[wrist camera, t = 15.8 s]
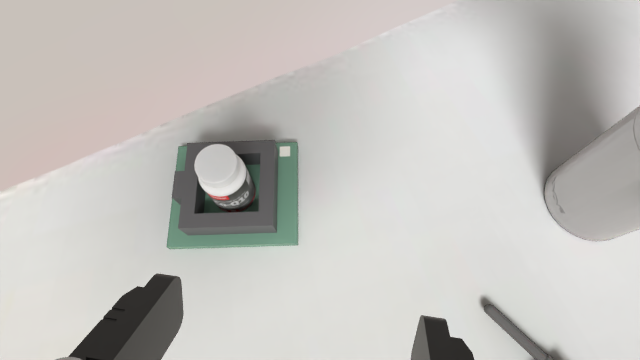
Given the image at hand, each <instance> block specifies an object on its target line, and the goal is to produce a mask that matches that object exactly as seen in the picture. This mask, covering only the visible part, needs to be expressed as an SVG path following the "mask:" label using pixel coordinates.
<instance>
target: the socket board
mask: <svg viewBox="0 0 640 360" xmlns="http://www.w3.org/2000/svg"><path fill="white" fill-rule="evenodd" d="M213 144H223V145H226V146H228V147H230V148H231V149H232V150H233V151H234V152H235V154H236V155H237V156H239V157H240V158H241V159H242V161H243V162H244V164H245V166H246V168H247V170H248V172H249V174H250V176H251V178H252V180H253V182H254V185H255V188H256V194H255V199H254V201H253V203H252V204H251V205H250V206H249V207H248V208H247V209H246V210H244V211H242V212H230V213H228V212H225V211H223V210H221V209H220V208H219V207H218V206H217V205H216V204H215V203H214V201H213V200H212V199H211V198H210V197H209V195H208V194H207V193H206V192H205V191H204V190H203V188H202V187H201V185H200V183H199V180H198V176H197V174H196V172H195V167H194V164H195V159H196V157H197V155H198V154H199V152H200V151H201V150H203V149H204V148H205V147H207V146H209V145H213ZM289 245H298V145H297V142H288V143H275V140H264V141H236V142H208V143H187V146H179V148H178V156H177V164H176V171H175V176H174V184H173V193H172V206H171V214H170V222H169V231H168V239H167V248H169V249H190V248H223V247H256V246H289Z"/></svg>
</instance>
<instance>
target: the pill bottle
mask: <svg viewBox="0 0 640 360" xmlns="http://www.w3.org/2000/svg"><path fill="white" fill-rule="evenodd" d="M194 167H195V172H196V174H197V176H198V180H199V183H200V185H201V187H202V188H203V190H204V191H205V192H206V193H207V194H208V195H209V197H210V198H211V199H212V200H213V201H214V203H215V204H216V205H217V206H218V207H219V208H220V209H221V210H223V211H225V212H228V213H230V212H242V211H244V210H246V209H247V208H248V207H249V206H250V205H251V204H252V203H253V201H254V199H255V194H256V188H255V185H254V182H253V180H252V178H251V176H250V174H249V172H248V170H247V168H246V166H245V164H244V162H243V161H242V159H241V158H240V157H239V156H237V155H236V154H235V152H234V151H233V150H232V149H231V148H230V147H228V146H226V145H223V144H213V145H209V146H207V147H205V148H204V149H203V150H201V151H200V152H199V154H198V155H197V157H196V159H195V164H194Z"/></svg>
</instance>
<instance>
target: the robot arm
mask: <svg viewBox="0 0 640 360" xmlns="http://www.w3.org/2000/svg"><path fill="white" fill-rule="evenodd" d="M544 194H545V201H546V204H547V207H548V210H549V211H550V213H551V215H552V216H553V218H554V219H555V220H556V221H557V222H558V224H559V225H560V226H562V227H563V228H564V229H565V230H567V231H568V232H570V233H571V234H573V235H575V236H577V237H580V238H583V239H585V240H591V241H606V240H609V239H613V238H616V237H619V236H622V235H625V234H627V233H630V232H633V231H636V230H639V229H640V106H639V107H637V108H636V109H635V110H633V111H632V112H631V113H629V114H628V115H627V116H625V117H624V118H623V119H621V120H620V121H619V122H618V123H616V124H615V125H614V126H612V127H611V128H610V129H608V130H607V131H606V132H604V133H603V134H602V135H600V136H599V137H598V138H596V139H595V140H594V141H592V142H591V143H590V144H588V145H587V146H586V147H584V148H583V149H582V150H580V151H579V152H578V153H576V154H575V155H574V156H572V157H571V158H570V159H568V160H567V161H566V162H564V163H563V164H562V165H561V166H559V167H558V168H557V169H556V170H554V171H553V172H552V173H551V175H550V176H549V177H548V179H547V182H546V185H545V193H544ZM182 319H183V300H182V286H181V279H180V277H177V276H170V275H164V274H155V275H154V276H153V277H152V278H151V280H150V281H149V282H148V283H147V284H146V286H145V287H138V286H137V287H136V288H134V289H133V290H131V291H129V292H128V293H126V294H125V295H123V296H122V297H121V298H120V299H119V300H118V301H117V303H116V304H115V305H114V306H113V307H112V310H109V312H108V313H107V314H106V315H105V316H104V318H103V320H101V321H100V322H99V323H98V324H97V325H96V326H95V327H94V328H93V330H92V331H91V332H90V333H89V334H88V335H87V336H86V337H85V339H84V340H83V341H82V342H81V343H80V344H79V345H78V346H77V348H76V349H75V350H74V351H73V352H72V353H71V354H70V355H69V356H68V357H65V358H60V359H56V360H161V359H162V357H163V355H164V354H165V352H166V351H167V349H168V347H169V346H170V344H171V342H172V341H173V339H174V337H175V336H176V334H177V333H178V331H179V329H180V326H181V323H182ZM411 360H474V357H473V354H472V352H471V351H470V349H469V348H468V347H467V345H466V344H465V343H464V341H463V340H462V339H460V338H454V337H450V334H449V330H448V325H447V322H446V320H445V319H442V318H436V317H430V316H423V315H421V317H420V320H419V324H418V328H417V332H416V336H415V340H414V344H413V349H412V354H411Z"/></svg>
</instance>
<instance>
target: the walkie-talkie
mask: <svg viewBox="0 0 640 360" xmlns="http://www.w3.org/2000/svg"><path fill="white" fill-rule="evenodd" d="M484 311H485V313H487V314H488V315H489V316H490V317H491V318H492V319H493V320H494V321H495V322H496V323H497V324H498V325H499V326H500V327H502V328H503V329H504V330H505V331H506V332H507V333H508V334H509V335H510V336H511V337H512V338H513V339H514V340H515V341H516V342H518V343H519V344H520V345H521V346H522V347H523V348H524V349H525V350H526V351H527V352H528V353H529V354H530V355H531V356H533V357H534V358H535V359H536V360H554V359H553V358H552V357H551V356H550V355H549V354H545V353H544V352H543V351H542V350H541V349H540V348H539V347H538V346H537V345H536V344H535V343H533V342H532V341H531V340H530V339H529V338H528V337H527V336H526V335H525V334H524V333H523V332H521V331H520V330H519V329H518V328H517V327H516V326H515V325H514V324H513V323H512V322H511V321H509V320H508V319H507V318H506V317H505V316H504V315H503V314H502V313H501V312H500V311H499V310H497V309H496V308H495V307H494V306H493V305H491V304H487V305H486V306H485V307H484Z"/></svg>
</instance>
